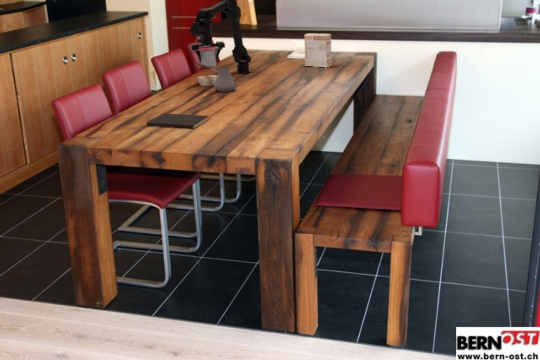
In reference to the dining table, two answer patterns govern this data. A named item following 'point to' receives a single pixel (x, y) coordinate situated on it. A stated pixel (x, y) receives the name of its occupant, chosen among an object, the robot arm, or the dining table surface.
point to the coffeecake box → (317, 50)
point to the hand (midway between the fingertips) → (208, 61)
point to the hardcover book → (178, 120)
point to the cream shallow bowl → (206, 80)
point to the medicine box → (208, 57)
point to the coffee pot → (222, 78)
